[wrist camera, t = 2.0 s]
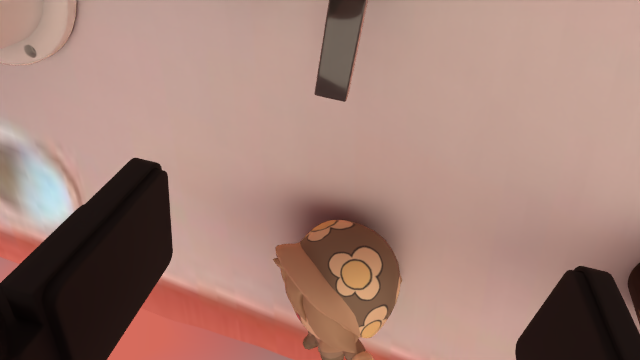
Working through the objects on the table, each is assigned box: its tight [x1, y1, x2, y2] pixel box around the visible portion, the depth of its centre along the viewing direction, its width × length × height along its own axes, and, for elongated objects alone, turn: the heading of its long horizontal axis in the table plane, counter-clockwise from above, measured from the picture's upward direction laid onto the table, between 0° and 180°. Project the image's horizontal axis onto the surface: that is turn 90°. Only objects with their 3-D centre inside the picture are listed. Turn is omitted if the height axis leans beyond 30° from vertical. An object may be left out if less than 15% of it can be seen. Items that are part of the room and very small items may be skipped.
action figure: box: [273, 220, 402, 360], centre depth 34 cm, size 10×11×15 cm
